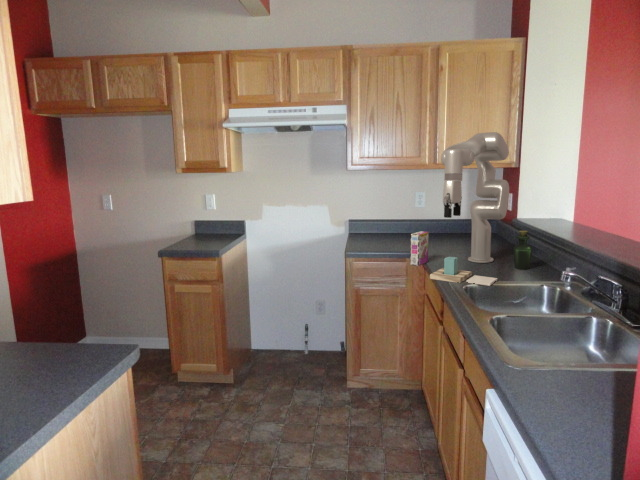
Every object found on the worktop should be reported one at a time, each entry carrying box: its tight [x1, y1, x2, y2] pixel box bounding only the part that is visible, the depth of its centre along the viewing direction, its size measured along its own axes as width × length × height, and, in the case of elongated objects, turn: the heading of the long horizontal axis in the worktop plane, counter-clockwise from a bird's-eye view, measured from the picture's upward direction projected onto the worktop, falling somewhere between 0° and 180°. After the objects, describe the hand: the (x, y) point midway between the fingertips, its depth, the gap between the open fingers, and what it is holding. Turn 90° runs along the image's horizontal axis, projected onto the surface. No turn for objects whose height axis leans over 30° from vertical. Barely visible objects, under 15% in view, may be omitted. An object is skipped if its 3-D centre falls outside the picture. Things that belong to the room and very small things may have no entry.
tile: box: [465, 274, 498, 287], centre depth 191 cm, size 10×10×1 cm
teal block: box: [443, 256, 459, 275], centre depth 199 cm, size 4×4×9 cm
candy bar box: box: [409, 230, 430, 267], centre depth 227 cm, size 11×5×16 cm, turn 141°
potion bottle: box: [512, 230, 533, 271], centre depth 210 cm, size 8×8×18 cm
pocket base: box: [429, 267, 473, 284], centre depth 199 cm, size 14×14×2 cm
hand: (452, 216), depth 195 cm, fingers open, 9 cm apart
